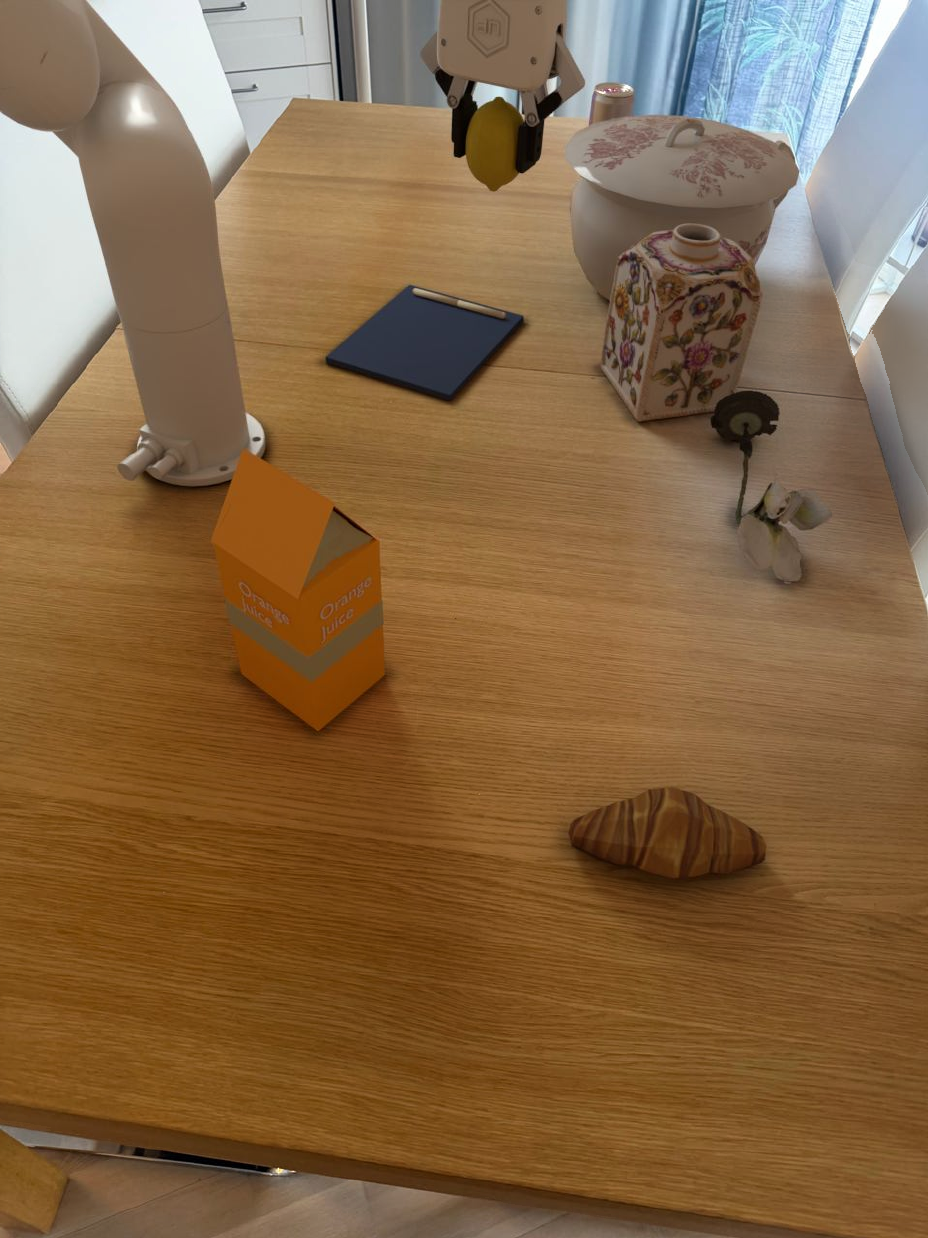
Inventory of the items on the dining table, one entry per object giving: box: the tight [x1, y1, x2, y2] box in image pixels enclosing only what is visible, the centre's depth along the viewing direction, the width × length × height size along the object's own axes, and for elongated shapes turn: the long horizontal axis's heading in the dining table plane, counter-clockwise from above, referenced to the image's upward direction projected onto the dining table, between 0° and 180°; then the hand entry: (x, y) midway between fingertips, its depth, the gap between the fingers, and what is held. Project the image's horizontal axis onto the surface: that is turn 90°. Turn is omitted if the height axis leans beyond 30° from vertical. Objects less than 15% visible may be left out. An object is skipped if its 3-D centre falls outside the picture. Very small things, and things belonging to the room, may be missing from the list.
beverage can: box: [588, 81, 635, 126], centre depth 135 cm, size 6×6×15 cm
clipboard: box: [325, 284, 525, 402], centre depth 110 cm, size 20×16×2 cm
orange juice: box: [210, 448, 386, 732], centre depth 67 cm, size 8×9×20 cm
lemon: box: [465, 96, 525, 192], centre depth 83 cm, size 6×6×8 cm
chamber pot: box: [564, 114, 800, 302], centre depth 113 cm, size 28×28×21 cm
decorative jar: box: [600, 224, 763, 423], centre depth 98 cm, size 12×12×18 cm
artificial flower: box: [710, 390, 834, 585], centre depth 88 cm, size 9×22×10 cm, turn 171°
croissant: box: [568, 786, 767, 879], centre depth 63 cm, size 14×7×5 cm, turn 85°
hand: (495, 158), depth 84 cm, fingers closed on lemon, 5 cm apart
